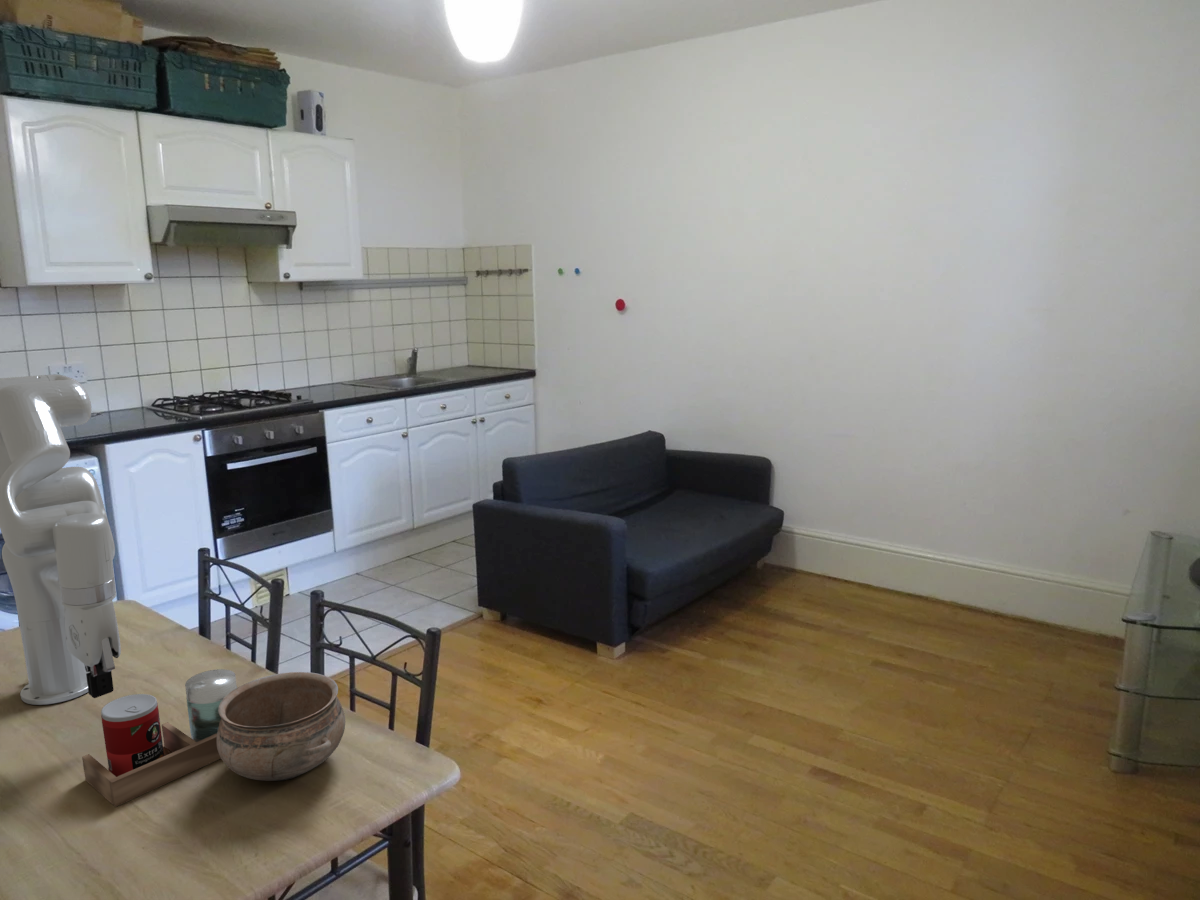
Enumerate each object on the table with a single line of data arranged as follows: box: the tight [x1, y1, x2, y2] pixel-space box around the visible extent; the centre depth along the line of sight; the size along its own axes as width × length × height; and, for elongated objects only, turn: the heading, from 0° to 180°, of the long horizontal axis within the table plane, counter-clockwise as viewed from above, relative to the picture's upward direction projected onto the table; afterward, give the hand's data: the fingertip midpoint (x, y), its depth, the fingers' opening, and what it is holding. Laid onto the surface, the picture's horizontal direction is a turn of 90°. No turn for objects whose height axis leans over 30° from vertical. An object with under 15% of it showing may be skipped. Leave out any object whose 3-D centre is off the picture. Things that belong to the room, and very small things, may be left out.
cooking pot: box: [217, 671, 346, 782], centre depth 131 cm, size 25×19×12 cm
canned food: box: [100, 693, 165, 777], centre depth 132 cm, size 8×8×11 cm
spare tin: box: [184, 668, 238, 742], centre depth 140 cm, size 8×8×11 cm
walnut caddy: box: [81, 721, 222, 808], centre depth 136 cm, size 11×25×4 cm, turn 141°
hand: (101, 693), depth 138 cm, fingers closed
